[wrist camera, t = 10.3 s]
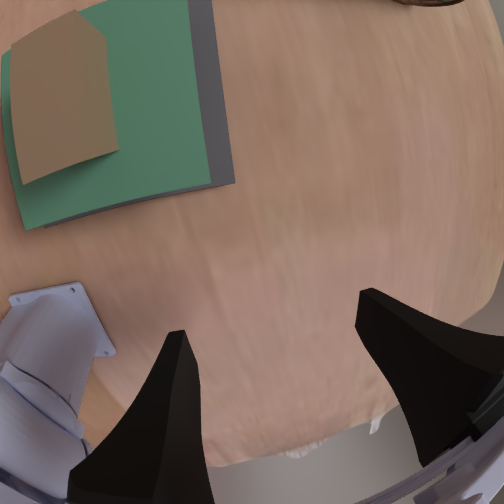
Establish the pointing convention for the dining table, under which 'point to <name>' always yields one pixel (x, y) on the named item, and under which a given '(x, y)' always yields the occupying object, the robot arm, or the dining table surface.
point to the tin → (430, 2)
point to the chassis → (209, 106)
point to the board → (138, 114)
